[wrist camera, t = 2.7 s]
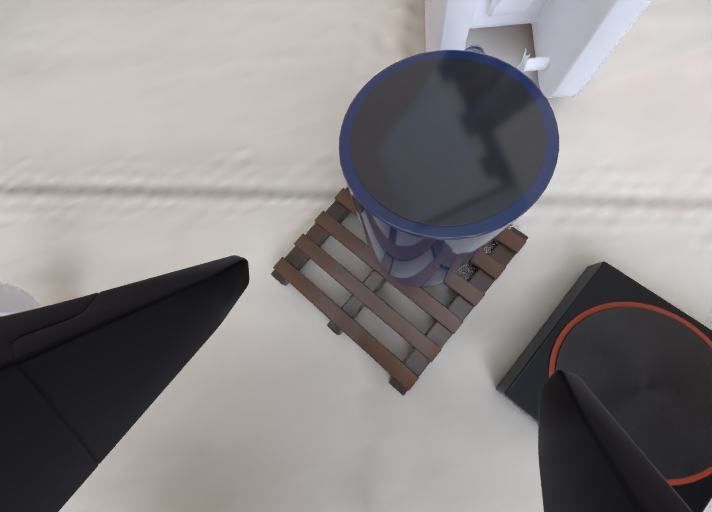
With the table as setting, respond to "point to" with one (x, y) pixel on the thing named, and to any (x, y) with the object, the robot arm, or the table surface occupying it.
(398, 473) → the table surface
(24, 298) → the headset
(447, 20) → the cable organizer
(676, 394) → the hot plate
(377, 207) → the blue mug
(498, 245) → the rack
